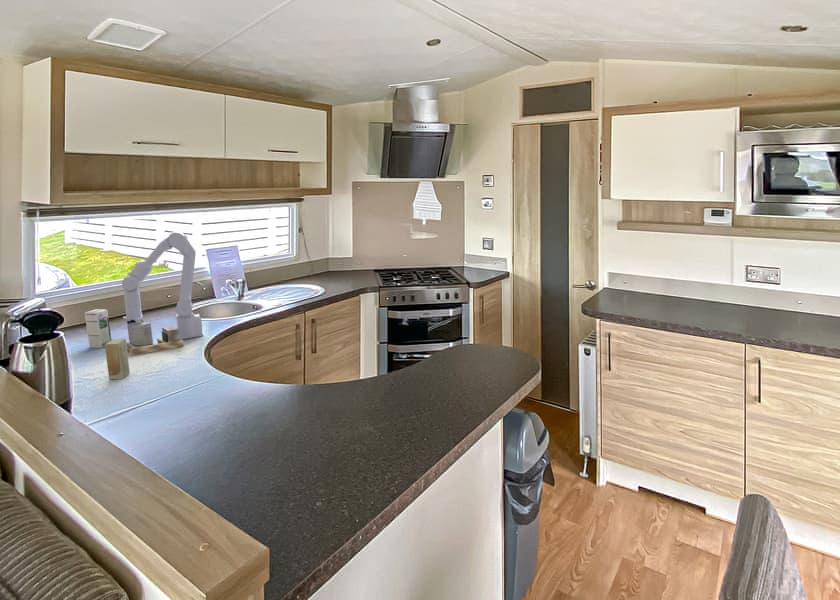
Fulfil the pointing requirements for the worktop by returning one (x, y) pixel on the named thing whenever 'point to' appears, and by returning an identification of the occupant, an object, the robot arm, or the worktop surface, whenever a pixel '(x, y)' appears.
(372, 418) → the worktop surface
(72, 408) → the worktop surface
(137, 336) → the medicine box
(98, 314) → the syrup box
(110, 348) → the skincare box
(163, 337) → the wooden rack
